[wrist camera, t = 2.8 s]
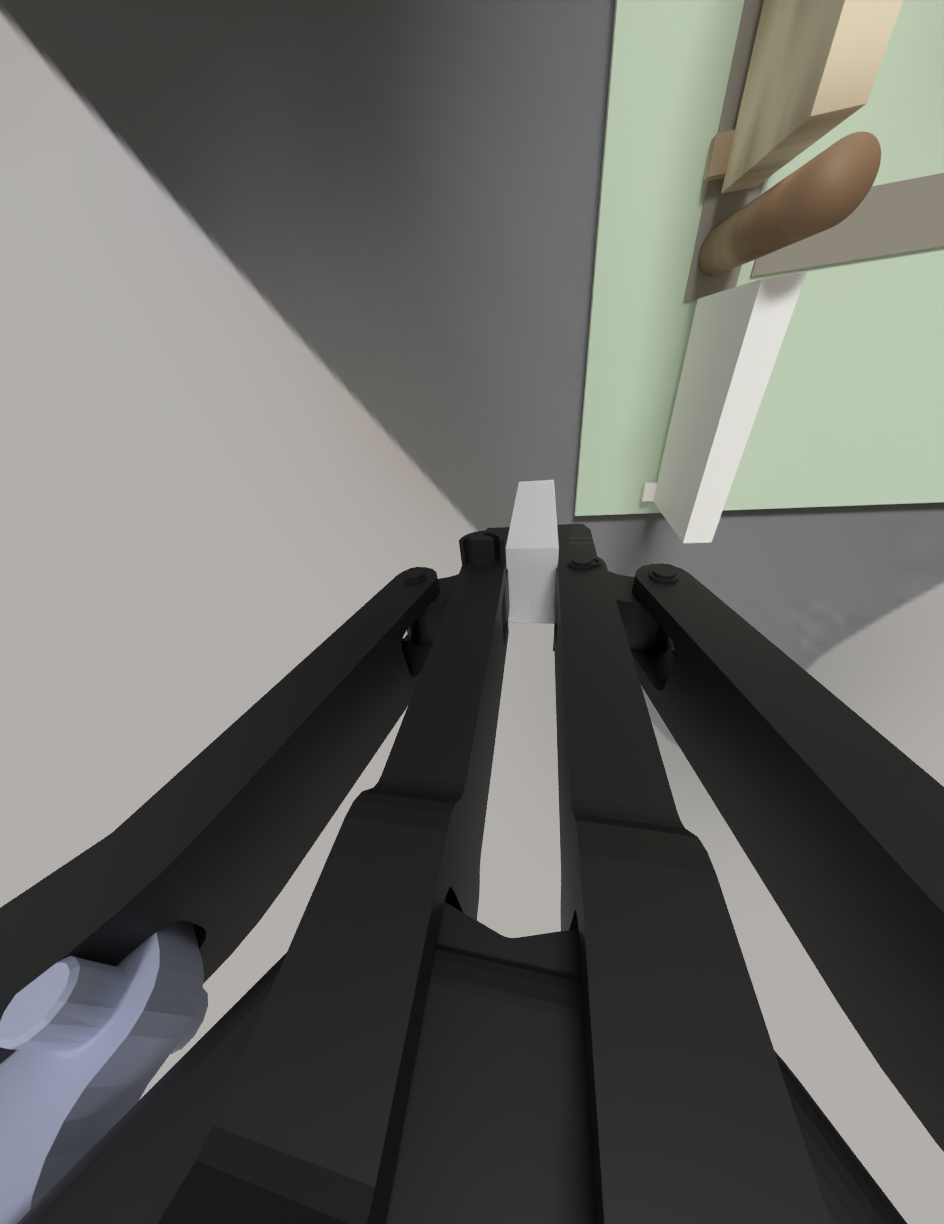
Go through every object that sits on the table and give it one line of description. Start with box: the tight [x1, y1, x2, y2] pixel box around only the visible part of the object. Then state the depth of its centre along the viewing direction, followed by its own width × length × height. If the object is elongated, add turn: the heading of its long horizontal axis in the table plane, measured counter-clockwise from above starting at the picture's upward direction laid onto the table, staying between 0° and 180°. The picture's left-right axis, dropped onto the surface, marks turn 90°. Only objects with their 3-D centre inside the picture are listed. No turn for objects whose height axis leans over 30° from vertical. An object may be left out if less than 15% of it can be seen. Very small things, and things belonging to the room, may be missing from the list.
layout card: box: [574, 0, 944, 516], centre depth 13 cm, size 24×22×1 cm
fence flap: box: [641, 272, 807, 543], centre depth 15 cm, size 9×2×6 cm, turn 6°
